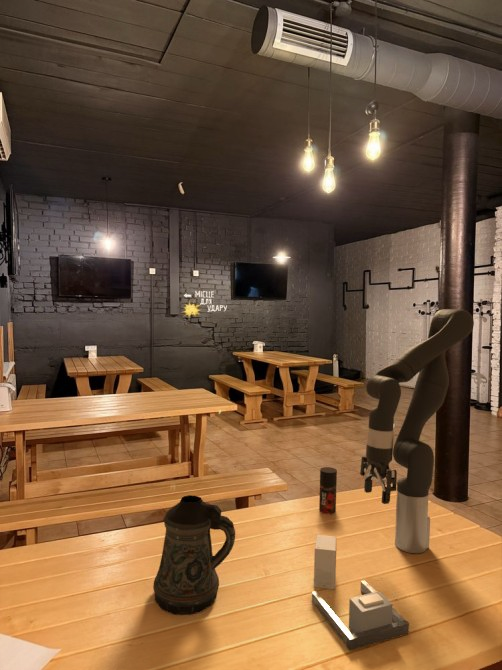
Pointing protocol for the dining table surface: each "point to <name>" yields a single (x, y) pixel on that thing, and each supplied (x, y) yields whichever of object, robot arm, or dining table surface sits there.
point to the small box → (325, 562)
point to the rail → (365, 637)
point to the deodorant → (328, 490)
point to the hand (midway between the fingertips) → (376, 497)
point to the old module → (369, 612)
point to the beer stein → (191, 557)
